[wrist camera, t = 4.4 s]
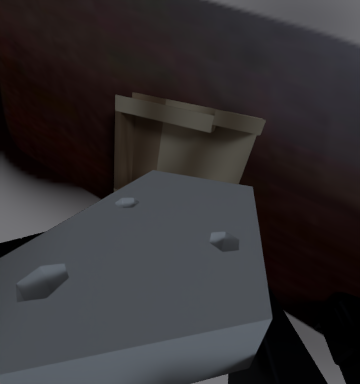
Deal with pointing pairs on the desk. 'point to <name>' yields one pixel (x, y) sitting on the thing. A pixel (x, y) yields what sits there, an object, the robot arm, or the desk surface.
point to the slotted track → (180, 140)
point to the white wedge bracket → (138, 289)
